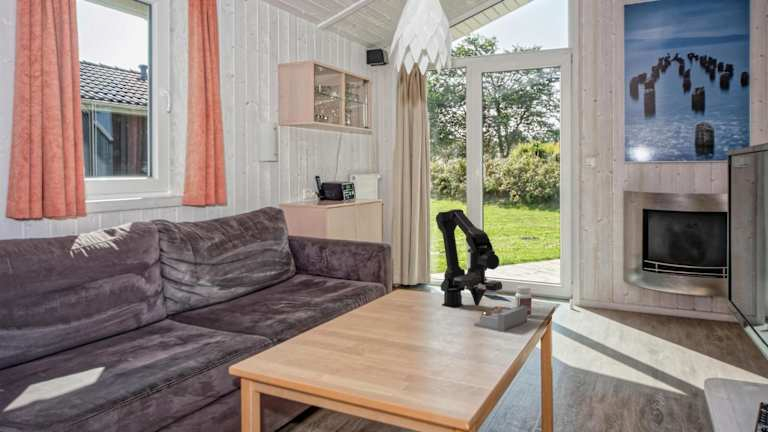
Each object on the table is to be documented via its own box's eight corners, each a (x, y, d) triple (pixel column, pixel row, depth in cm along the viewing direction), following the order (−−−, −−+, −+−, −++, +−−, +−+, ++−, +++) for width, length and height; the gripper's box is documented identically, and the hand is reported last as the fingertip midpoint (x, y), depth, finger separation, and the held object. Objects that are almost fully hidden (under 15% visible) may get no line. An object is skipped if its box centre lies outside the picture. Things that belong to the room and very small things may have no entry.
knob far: (492, 317, 209) (492, 307, 208) (498, 314, 212) (499, 305, 212) (511, 321, 203) (511, 311, 203) (518, 318, 207) (518, 308, 207)
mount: (474, 325, 202) (474, 309, 202) (498, 316, 215) (498, 301, 215) (503, 332, 194) (504, 315, 194) (527, 322, 207) (527, 306, 207)
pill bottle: (534, 315, 216) (534, 287, 215) (525, 318, 212) (526, 289, 211) (520, 313, 221) (521, 284, 220) (511, 315, 216) (512, 286, 215)
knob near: (480, 321, 203) (480, 311, 202) (487, 319, 206) (488, 309, 206) (500, 325, 197) (500, 315, 197) (507, 323, 201) (507, 312, 201)
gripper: (445, 265, 214) (444, 305, 216) (488, 271, 202) (487, 313, 204) (461, 261, 223) (460, 300, 224) (503, 267, 211) (502, 307, 212)
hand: (476, 305), depth 216 cm, fingers closed
